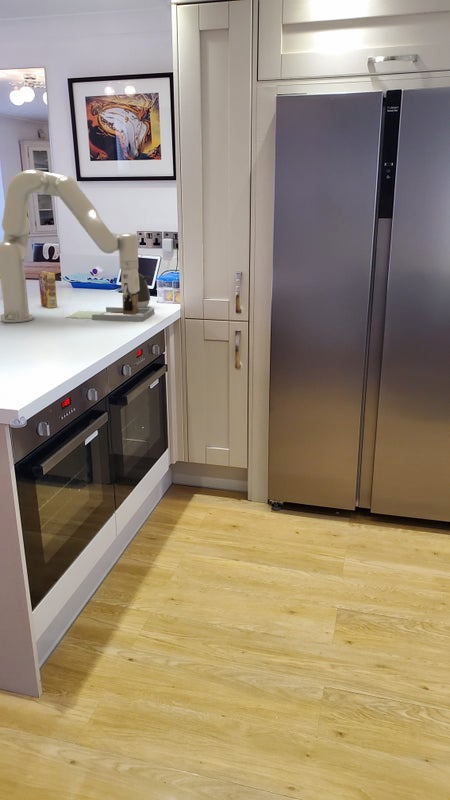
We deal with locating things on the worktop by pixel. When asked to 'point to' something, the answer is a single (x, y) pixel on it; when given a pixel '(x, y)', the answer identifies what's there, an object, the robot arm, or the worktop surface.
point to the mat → (85, 314)
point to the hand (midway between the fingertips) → (130, 308)
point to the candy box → (47, 289)
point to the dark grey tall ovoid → (143, 292)
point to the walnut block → (134, 306)
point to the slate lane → (146, 311)
